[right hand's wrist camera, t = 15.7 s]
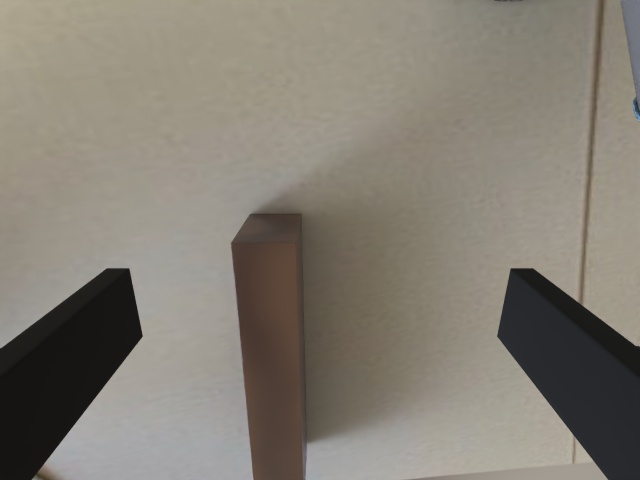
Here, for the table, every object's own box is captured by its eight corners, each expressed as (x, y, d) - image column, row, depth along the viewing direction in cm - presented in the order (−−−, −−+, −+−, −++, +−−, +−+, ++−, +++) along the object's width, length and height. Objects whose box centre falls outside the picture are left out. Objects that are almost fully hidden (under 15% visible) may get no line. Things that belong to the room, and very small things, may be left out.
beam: (301, 213, 35) (296, 242, 28) (306, 444, 45) (304, 511, 38) (249, 214, 35) (230, 243, 28) (266, 444, 45) (256, 511, 38)
